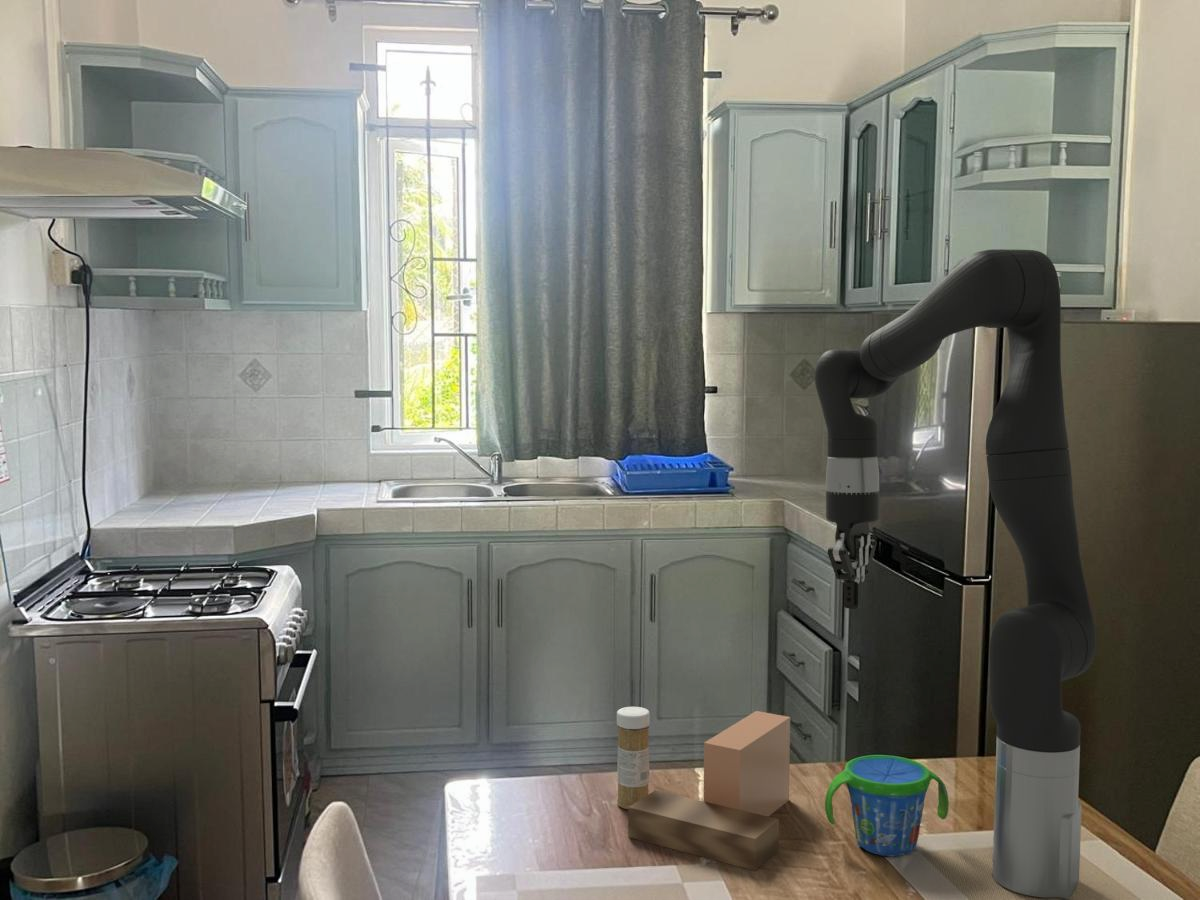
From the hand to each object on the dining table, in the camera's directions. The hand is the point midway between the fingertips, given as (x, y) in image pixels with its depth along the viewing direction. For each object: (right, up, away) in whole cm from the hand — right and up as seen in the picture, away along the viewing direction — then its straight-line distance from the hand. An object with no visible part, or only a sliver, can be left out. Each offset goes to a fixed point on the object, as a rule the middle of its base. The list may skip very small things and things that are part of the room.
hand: (852, 607), depth 165 cm
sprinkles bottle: (-32, -27, -6) cm, 42 cm away
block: (-16, -27, -10) cm, 33 cm away
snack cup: (0, -28, -20) cm, 34 cm away
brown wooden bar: (-23, -28, -19) cm, 41 cm away
